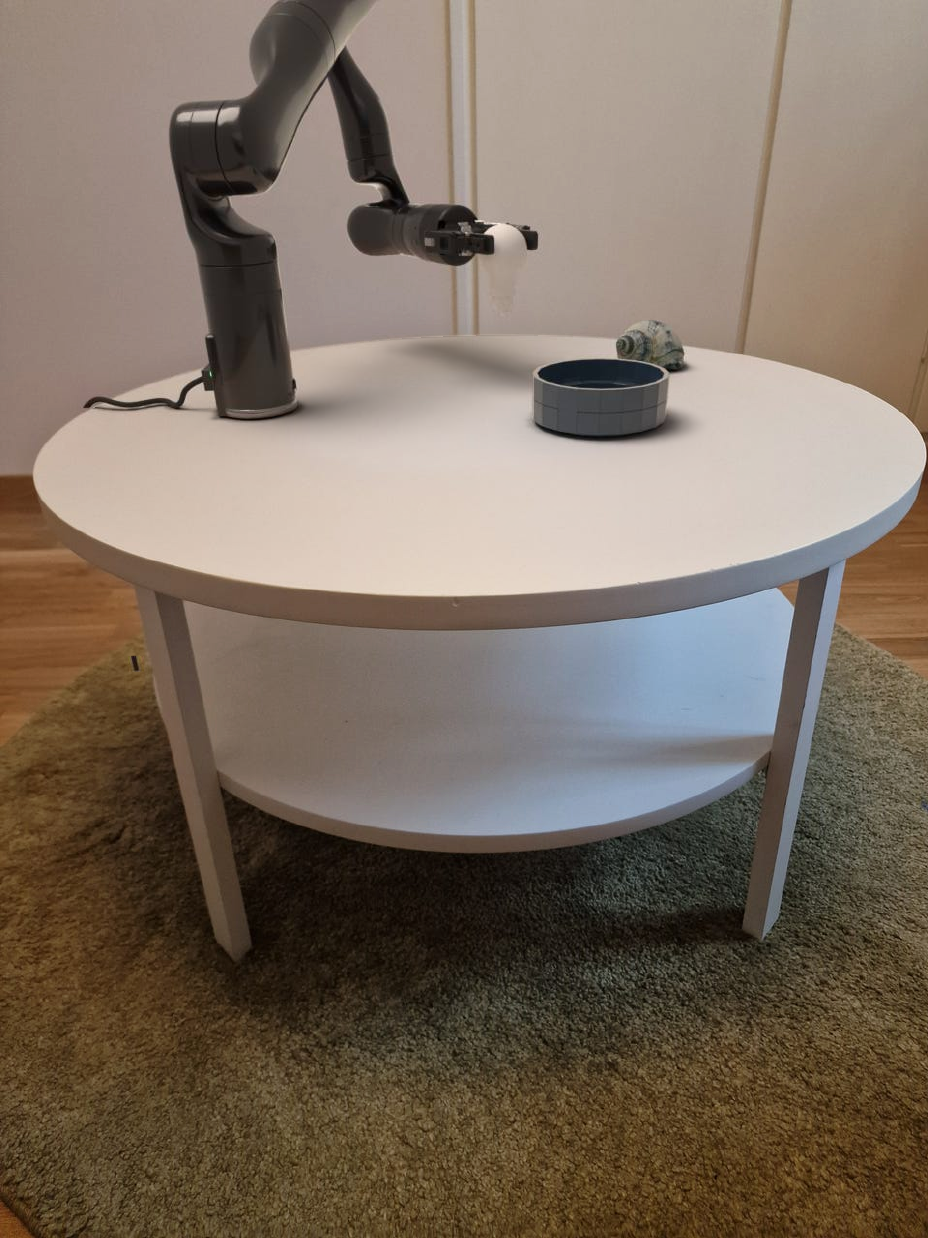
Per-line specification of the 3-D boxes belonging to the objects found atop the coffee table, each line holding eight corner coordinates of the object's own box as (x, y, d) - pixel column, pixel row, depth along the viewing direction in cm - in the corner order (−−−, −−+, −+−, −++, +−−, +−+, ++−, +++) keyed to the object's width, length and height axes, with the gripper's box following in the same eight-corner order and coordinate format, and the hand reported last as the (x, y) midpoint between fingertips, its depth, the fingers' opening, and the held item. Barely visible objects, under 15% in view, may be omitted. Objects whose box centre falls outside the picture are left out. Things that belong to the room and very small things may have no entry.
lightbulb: (474, 320, 109) (472, 226, 103) (484, 311, 114) (483, 221, 109) (521, 321, 108) (522, 226, 102) (529, 312, 113) (530, 221, 107)
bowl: (539, 443, 92) (540, 392, 89) (526, 405, 105) (526, 360, 103) (679, 438, 92) (684, 387, 90) (648, 401, 105) (652, 355, 103)
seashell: (691, 380, 120) (609, 385, 118) (674, 348, 125) (595, 352, 123) (704, 341, 115) (619, 346, 113) (686, 309, 120) (604, 312, 118)
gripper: (393, 206, 112) (465, 212, 99) (483, 200, 118) (560, 205, 106) (397, 268, 115) (466, 281, 103) (483, 258, 122) (558, 270, 110)
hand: (514, 242), depth 105 cm, fingers closed on lightbulb, 6 cm apart
